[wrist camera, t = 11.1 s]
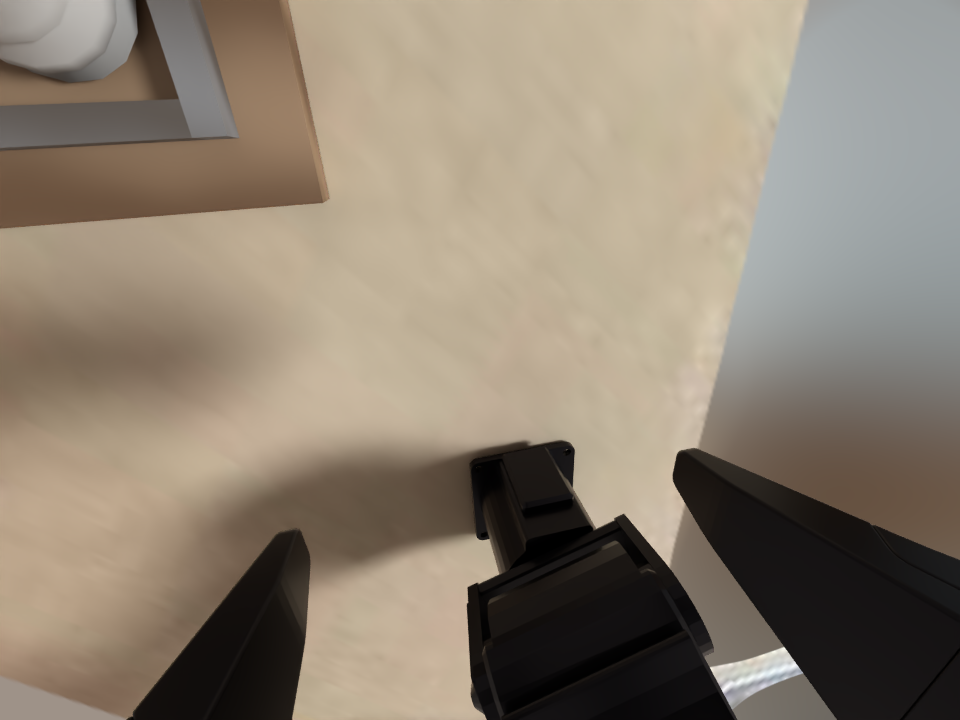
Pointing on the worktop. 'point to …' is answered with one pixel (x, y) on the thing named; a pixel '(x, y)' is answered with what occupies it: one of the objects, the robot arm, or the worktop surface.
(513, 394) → the worktop surface
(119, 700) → the worktop surface
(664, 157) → the worktop surface
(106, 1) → the rook chess piece
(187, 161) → the plinth
